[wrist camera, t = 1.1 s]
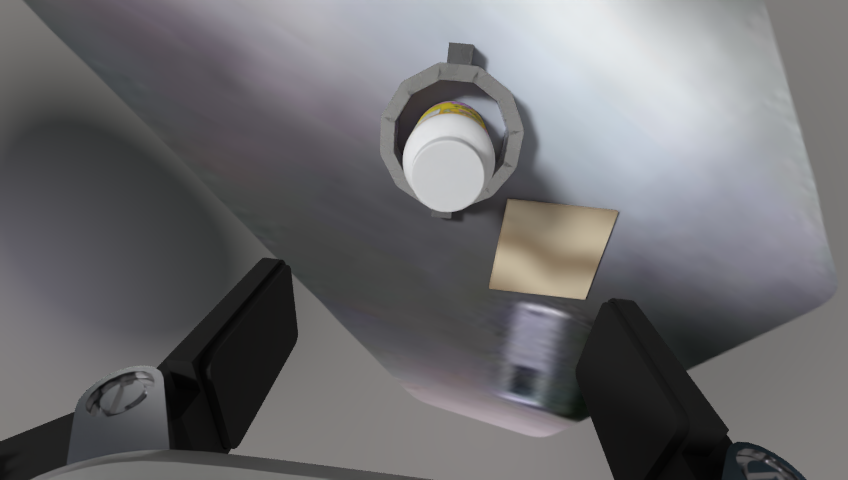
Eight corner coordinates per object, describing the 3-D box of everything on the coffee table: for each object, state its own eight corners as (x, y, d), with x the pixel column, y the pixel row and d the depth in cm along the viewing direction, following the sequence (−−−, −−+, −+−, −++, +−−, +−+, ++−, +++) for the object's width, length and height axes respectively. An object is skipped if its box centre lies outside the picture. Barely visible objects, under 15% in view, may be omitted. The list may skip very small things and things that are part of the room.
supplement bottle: (499, 144, 33) (522, 190, 22) (443, 184, 35) (437, 244, 24) (458, 83, 31) (460, 99, 20) (401, 129, 33) (373, 168, 22)
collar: (388, 37, 30) (383, 35, 27) (535, 51, 29) (541, 50, 27) (383, 204, 37) (378, 214, 35) (500, 217, 37) (503, 228, 34)
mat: (507, 198, 35) (508, 199, 35) (616, 210, 35) (618, 211, 35) (488, 286, 41) (489, 288, 40) (583, 297, 40) (585, 299, 40)
